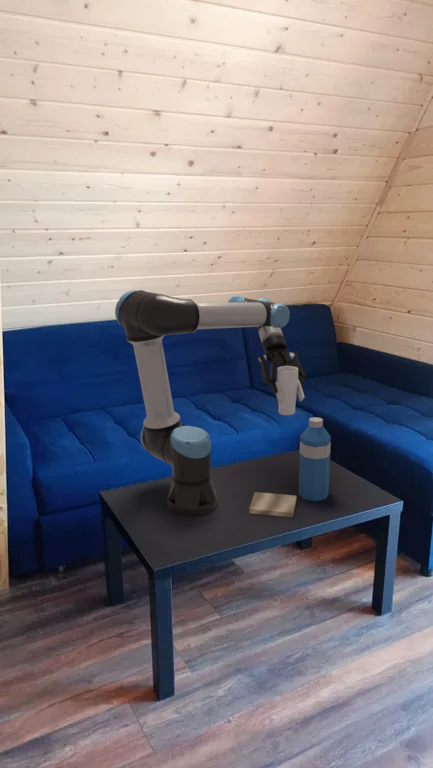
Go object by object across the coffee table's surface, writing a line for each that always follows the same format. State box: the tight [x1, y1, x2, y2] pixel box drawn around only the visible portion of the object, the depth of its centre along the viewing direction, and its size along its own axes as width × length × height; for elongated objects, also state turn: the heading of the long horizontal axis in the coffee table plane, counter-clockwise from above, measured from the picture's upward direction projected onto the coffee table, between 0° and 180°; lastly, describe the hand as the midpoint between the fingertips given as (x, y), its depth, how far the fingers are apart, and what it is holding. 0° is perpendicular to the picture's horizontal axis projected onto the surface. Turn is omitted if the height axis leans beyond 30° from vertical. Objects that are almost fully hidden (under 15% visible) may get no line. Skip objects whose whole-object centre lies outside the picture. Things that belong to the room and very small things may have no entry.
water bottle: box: [298, 416, 332, 502], centre depth 180 cm, size 9×9×25 cm
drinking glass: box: [276, 365, 298, 416], centre depth 187 cm, size 7×7×15 cm
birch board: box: [248, 491, 298, 518], centre depth 176 cm, size 13×11×2 cm
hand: (291, 400), depth 185 cm, fingers closed on drinking glass, 7 cm apart
